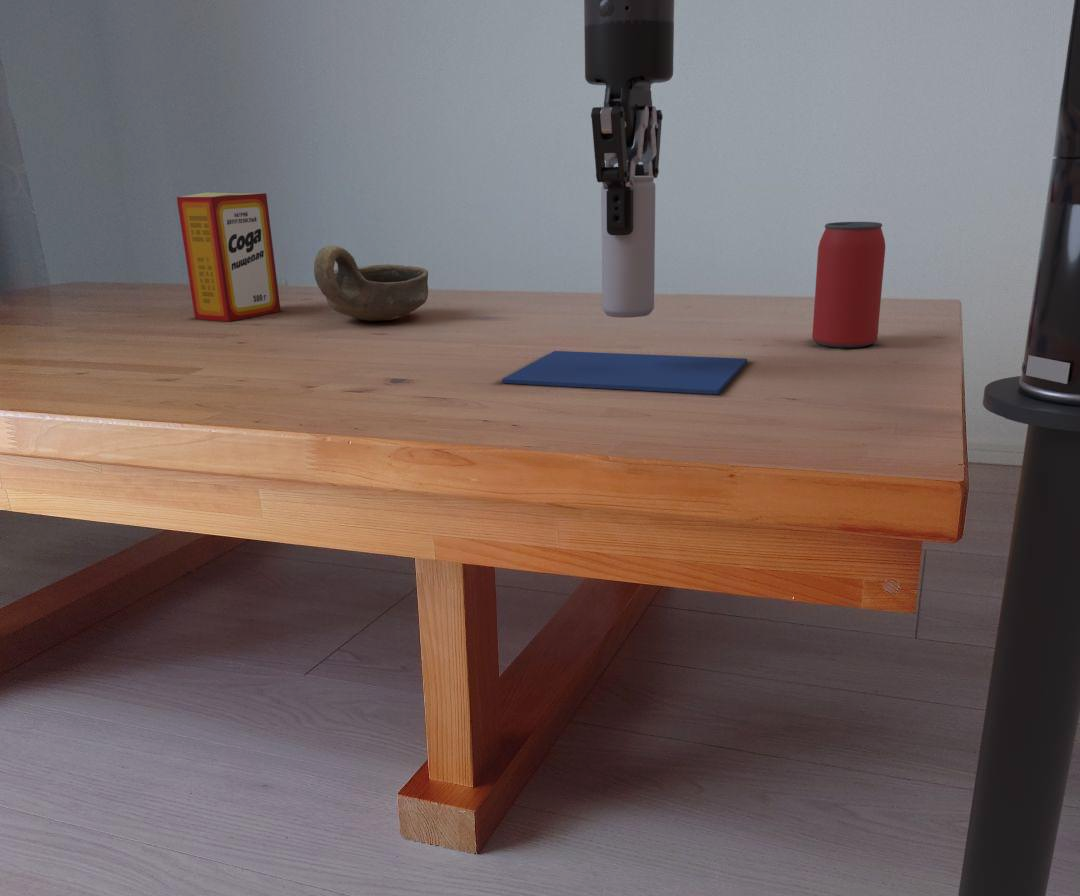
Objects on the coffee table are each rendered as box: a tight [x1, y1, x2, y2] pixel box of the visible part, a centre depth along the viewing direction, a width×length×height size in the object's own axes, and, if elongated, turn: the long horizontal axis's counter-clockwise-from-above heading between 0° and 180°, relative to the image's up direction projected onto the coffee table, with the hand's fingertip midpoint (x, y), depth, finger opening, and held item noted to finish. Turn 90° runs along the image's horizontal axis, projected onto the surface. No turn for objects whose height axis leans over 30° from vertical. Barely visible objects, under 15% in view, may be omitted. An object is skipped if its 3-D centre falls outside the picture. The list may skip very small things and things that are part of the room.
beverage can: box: [600, 176, 656, 319], centre depth 91 cm, size 5×5×12 cm
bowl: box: [313, 245, 429, 322], centre depth 128 cm, size 14×18×10 cm
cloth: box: [501, 350, 748, 395], centre depth 95 cm, size 20×14×1 cm
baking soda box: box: [176, 192, 281, 322], centre depth 136 cm, size 10×6×16 cm
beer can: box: [811, 221, 886, 349], centre depth 103 cm, size 7×7×12 cm
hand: (628, 231), depth 91 cm, fingers closed on beverage can, 5 cm apart
